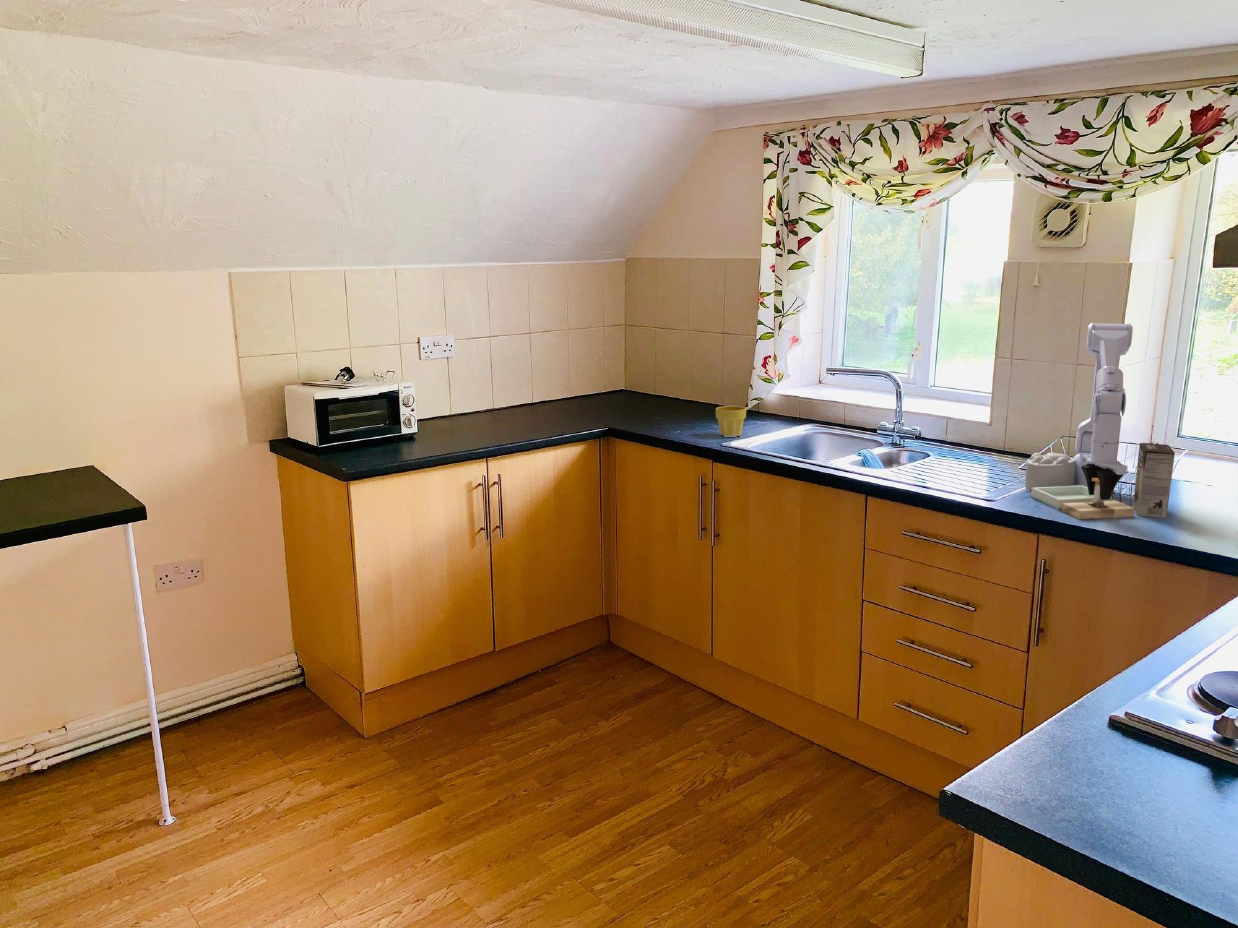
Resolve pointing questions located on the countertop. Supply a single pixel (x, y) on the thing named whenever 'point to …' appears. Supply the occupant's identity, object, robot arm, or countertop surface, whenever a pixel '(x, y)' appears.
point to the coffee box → (1153, 480)
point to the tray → (1062, 495)
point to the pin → (1097, 494)
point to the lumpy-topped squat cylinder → (1050, 470)
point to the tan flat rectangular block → (1098, 510)
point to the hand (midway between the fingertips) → (1099, 497)
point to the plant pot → (730, 419)
